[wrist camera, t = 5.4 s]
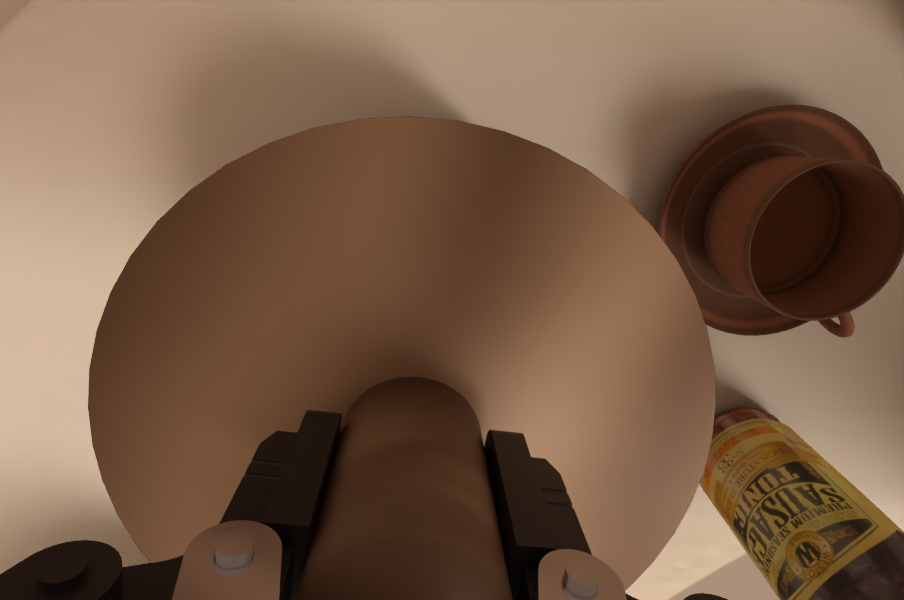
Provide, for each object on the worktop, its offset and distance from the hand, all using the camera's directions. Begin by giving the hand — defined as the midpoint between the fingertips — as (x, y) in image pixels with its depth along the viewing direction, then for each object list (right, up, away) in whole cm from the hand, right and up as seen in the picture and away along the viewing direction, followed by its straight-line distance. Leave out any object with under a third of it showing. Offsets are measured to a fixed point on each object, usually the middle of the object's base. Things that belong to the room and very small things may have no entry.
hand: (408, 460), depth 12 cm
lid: (0, 0, +1) cm, 2 cm away
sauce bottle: (+18, -6, +23) cm, 30 cm away
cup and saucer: (+17, +8, +19) cm, 27 cm away
